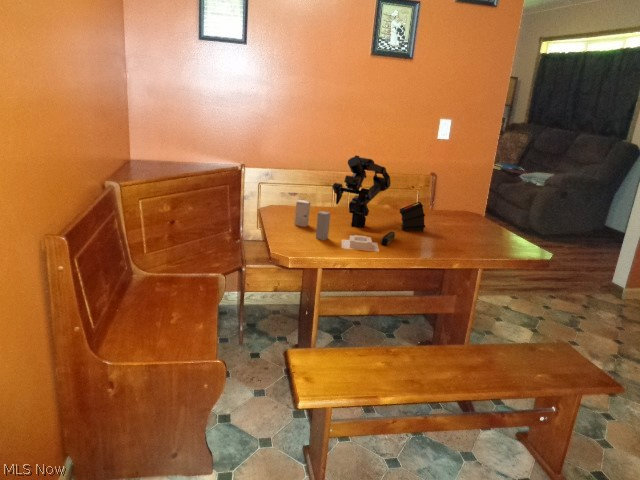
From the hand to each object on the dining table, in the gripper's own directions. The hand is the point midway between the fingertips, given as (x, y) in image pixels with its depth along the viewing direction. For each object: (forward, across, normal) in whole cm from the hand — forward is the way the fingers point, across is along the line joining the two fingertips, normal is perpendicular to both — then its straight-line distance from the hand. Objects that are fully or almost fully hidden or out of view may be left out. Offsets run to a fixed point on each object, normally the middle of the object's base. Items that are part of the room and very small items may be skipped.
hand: (345, 205), depth 217 cm
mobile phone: (+10, +23, +10) cm, 27 cm away
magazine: (-10, +25, +30) cm, 40 cm away
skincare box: (+11, -22, +8) cm, 26 cm away
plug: (+21, -3, -2) cm, 22 cm away
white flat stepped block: (+19, +15, 0) cm, 24 cm away
